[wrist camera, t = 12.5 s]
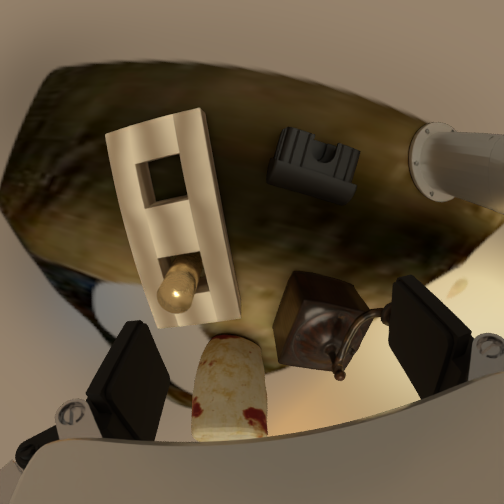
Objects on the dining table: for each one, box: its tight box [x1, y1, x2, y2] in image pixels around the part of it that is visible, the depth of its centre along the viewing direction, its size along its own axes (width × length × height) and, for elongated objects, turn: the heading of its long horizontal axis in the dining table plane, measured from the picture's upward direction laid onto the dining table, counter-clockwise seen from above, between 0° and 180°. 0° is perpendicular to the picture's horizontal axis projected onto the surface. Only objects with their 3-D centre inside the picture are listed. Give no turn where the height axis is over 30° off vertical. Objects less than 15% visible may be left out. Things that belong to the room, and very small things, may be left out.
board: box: [105, 108, 241, 329], centre depth 36 cm, size 12×27×5 cm, turn 9°
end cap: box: [266, 127, 360, 205], centre depth 34 cm, size 10×7×7 cm
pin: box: [157, 251, 203, 314], centre depth 36 cm, size 4×4×11 cm
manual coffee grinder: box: [272, 271, 392, 381], centre depth 35 cm, size 16×11×18 cm
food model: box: [191, 335, 268, 442], centre depth 37 cm, size 10×7×20 cm
